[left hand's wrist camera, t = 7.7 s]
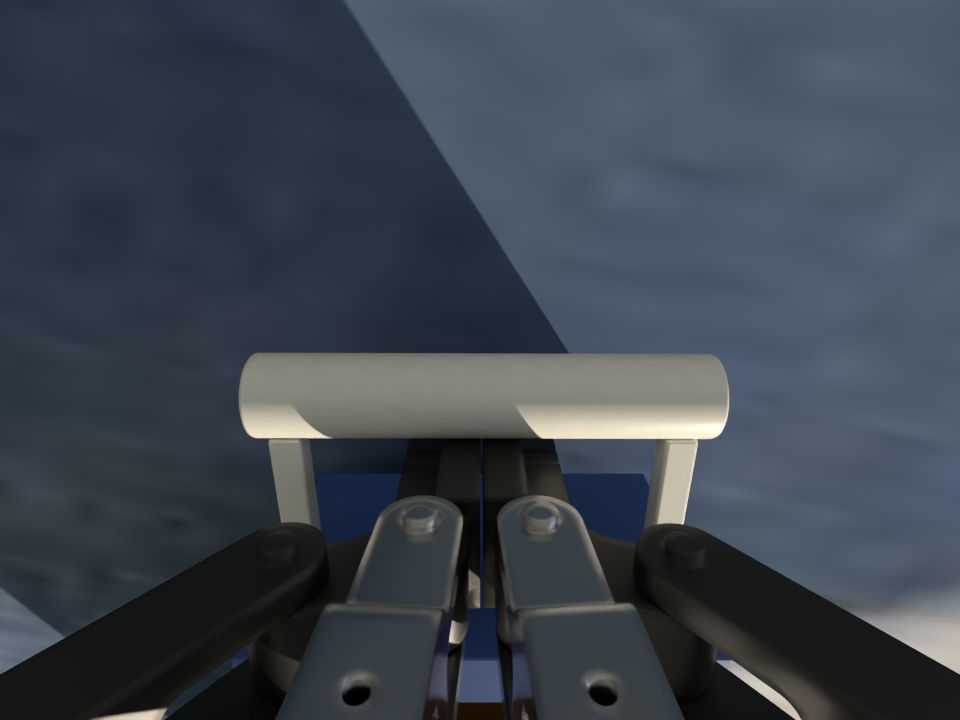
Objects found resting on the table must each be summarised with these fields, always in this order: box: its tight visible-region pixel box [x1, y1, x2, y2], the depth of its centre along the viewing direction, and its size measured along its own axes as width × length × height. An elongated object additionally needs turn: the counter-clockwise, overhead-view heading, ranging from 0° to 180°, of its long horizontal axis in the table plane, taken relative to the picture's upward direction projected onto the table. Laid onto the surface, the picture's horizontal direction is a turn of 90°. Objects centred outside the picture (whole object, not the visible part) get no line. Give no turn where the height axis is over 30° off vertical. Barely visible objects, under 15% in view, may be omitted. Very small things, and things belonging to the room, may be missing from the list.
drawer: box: [231, 353, 733, 720], centre depth 15 cm, size 21×10×6 cm, turn 0°
